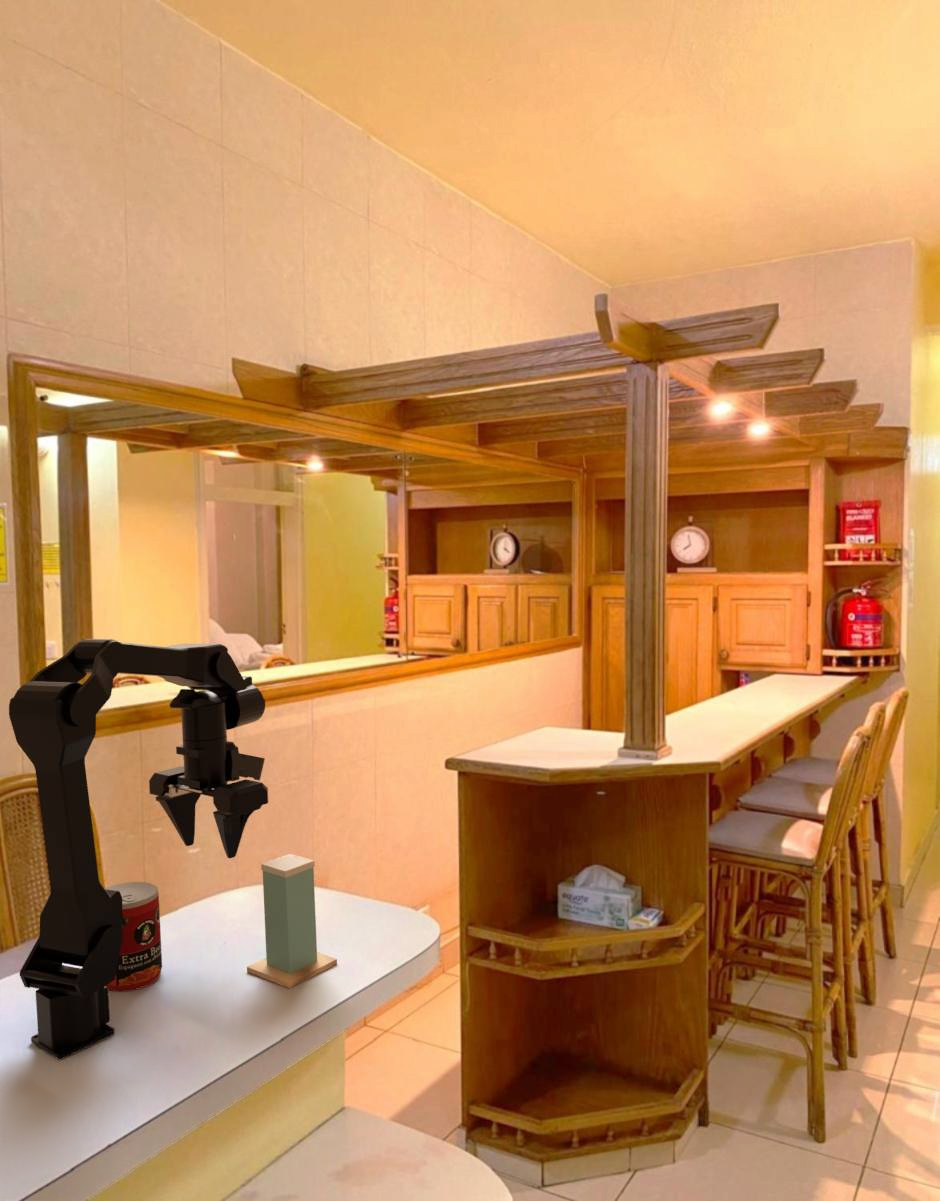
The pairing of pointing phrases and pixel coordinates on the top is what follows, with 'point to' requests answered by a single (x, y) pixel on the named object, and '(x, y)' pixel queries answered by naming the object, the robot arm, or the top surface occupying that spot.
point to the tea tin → (289, 913)
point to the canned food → (138, 937)
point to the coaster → (294, 978)
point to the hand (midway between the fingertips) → (210, 851)
